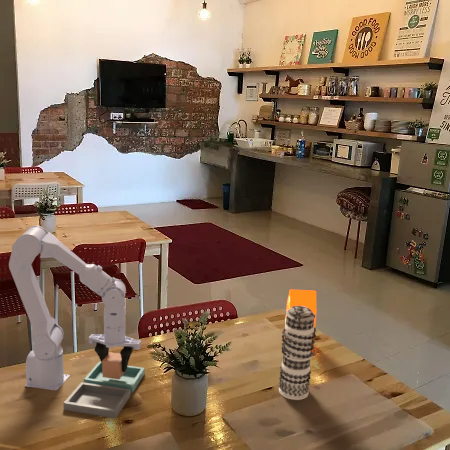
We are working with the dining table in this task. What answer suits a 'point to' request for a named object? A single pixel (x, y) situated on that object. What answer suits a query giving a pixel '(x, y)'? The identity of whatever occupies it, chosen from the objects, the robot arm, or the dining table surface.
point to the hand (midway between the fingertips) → (115, 368)
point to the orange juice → (302, 300)
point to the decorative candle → (297, 352)
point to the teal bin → (126, 381)
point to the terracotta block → (112, 366)
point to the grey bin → (97, 400)
